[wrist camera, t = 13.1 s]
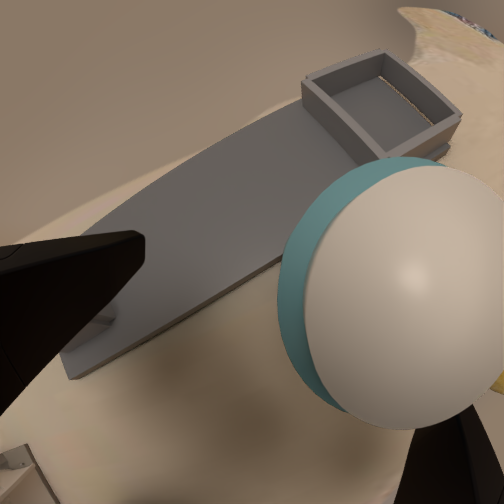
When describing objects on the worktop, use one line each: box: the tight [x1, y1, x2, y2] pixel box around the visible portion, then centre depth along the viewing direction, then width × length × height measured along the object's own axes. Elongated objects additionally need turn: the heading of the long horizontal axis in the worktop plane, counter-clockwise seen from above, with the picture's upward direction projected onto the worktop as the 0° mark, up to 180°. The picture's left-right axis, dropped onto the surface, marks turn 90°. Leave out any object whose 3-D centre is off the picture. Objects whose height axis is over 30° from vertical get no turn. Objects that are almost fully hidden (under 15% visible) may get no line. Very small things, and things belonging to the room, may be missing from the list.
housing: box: [59, 49, 463, 380], centre depth 17 cm, size 32×9×4 cm, turn 121°
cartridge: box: [277, 157, 504, 430], centre depth 10 cm, size 5×5×13 cm
